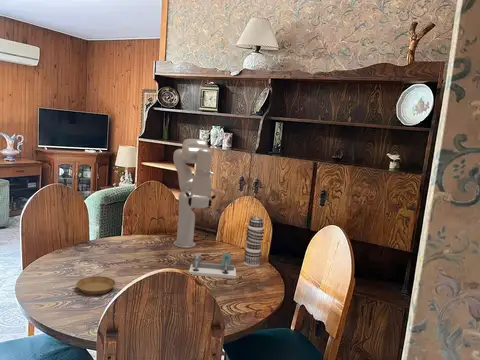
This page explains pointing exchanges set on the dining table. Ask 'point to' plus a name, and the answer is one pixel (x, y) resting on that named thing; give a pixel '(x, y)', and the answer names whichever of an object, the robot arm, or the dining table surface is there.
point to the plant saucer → (95, 285)
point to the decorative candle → (254, 241)
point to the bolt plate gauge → (211, 269)
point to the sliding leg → (226, 260)
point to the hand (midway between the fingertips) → (199, 206)
